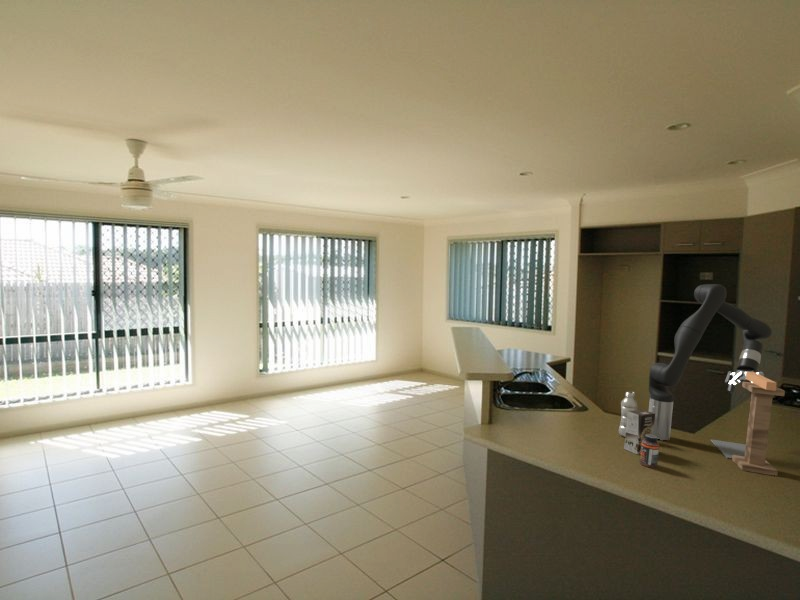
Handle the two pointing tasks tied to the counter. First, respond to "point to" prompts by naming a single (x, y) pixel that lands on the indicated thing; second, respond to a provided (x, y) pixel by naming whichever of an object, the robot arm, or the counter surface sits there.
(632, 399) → the plastic bottle
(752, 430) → the walnut stand
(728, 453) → the rubber mat
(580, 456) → the counter surface
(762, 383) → the terracotta bar
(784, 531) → the counter surface
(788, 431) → the counter surface
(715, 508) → the counter surface
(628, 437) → the coffee box
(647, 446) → the supplement bottle
